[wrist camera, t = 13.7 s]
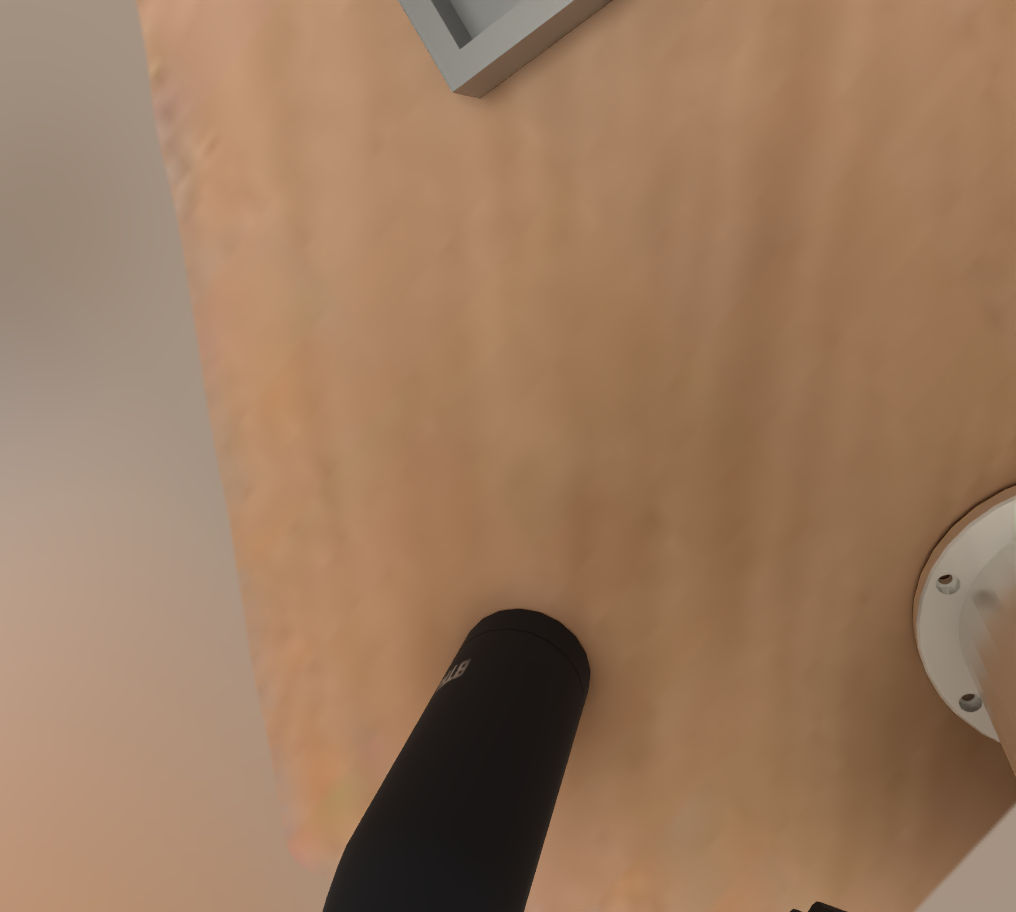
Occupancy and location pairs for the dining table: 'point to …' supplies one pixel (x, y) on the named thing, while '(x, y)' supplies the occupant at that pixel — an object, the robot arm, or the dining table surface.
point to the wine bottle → (473, 778)
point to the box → (491, 35)
